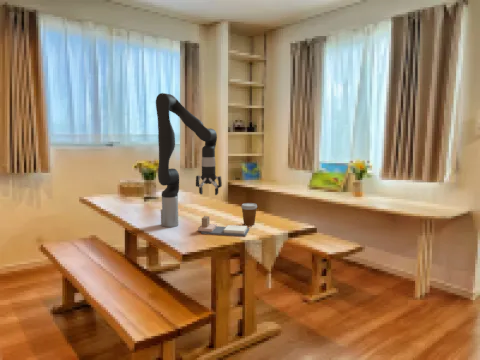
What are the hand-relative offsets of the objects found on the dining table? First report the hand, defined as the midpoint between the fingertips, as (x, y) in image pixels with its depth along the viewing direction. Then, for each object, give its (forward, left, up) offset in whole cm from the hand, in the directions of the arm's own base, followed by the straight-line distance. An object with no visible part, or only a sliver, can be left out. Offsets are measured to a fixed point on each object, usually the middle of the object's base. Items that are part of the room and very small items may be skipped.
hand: (208, 194), depth 195 cm
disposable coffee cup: (+20, +16, -20) cm, 33 cm away
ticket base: (+10, -2, -20) cm, 23 cm away
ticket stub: (0, -2, -19) cm, 19 cm away
